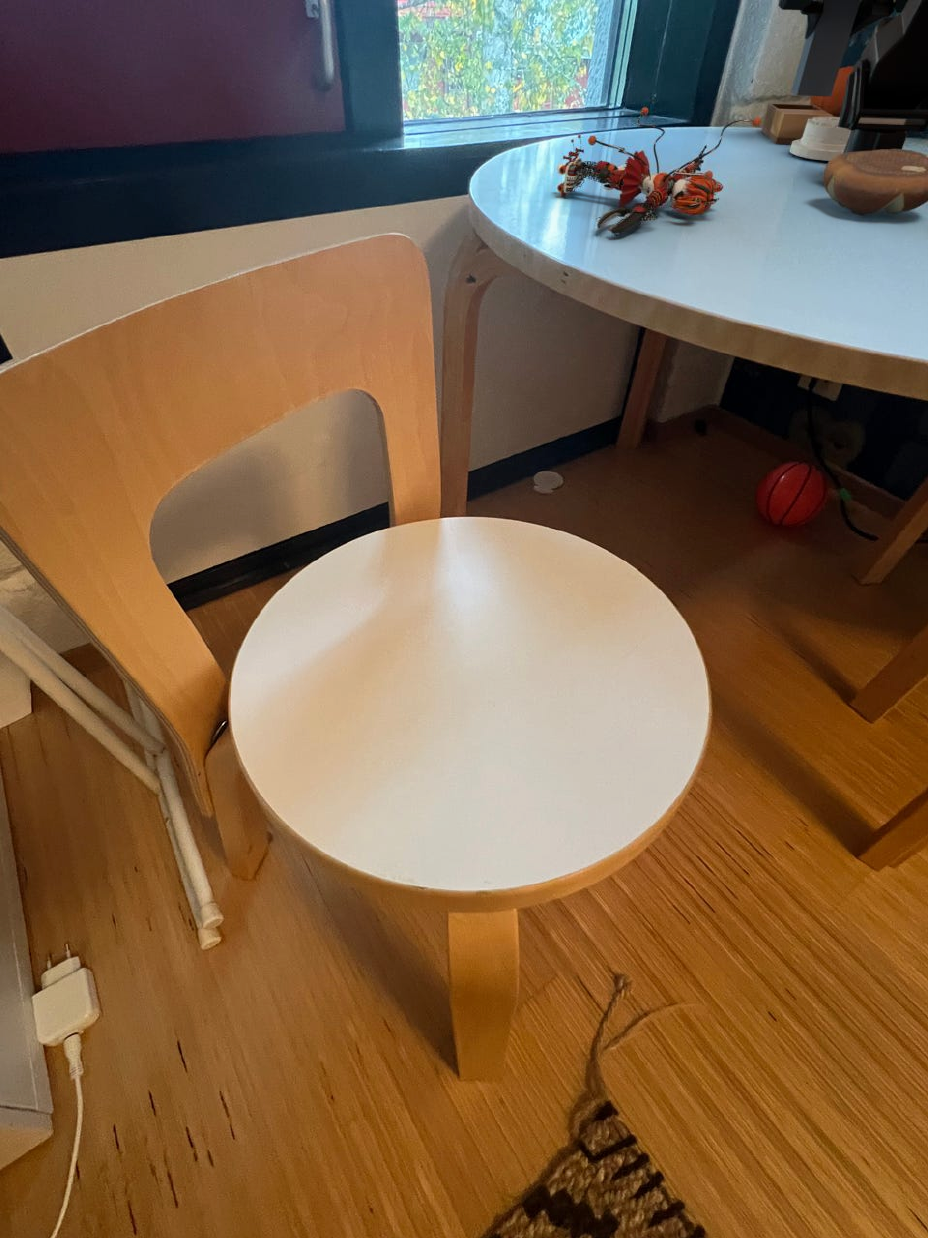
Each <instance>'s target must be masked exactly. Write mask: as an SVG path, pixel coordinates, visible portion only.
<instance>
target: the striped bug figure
mask: <svg viewBox="0 0 928 1238" xmlns="http://www.w3.org/2000/svg"><path fill="white" fill-rule="evenodd" d="M648 114H649V108H648V107H647V106H644V107H642V108H641V110H640V115H639V117H638V119H637V122H636V123H637V126H639V127H641V128H650V129H655V130H659V131H661V132H662V134H660V135H659V136H658V138H656V139H655V141H654V143H653V154H654V158H655V163H656V173H653V174H652V173H651V170H650V162H649V158H648V156H646V154H645V151H644V149H642V150H640V151H639V152H638V151H637V150H636V151H635V152H634V153H631V152H629V151H626V150H625V149H626V148H625V147H621V146H618V145H612V144H609V143H606V142H603V141H600V140H598V139H597V137H596V136H595V135H590V136H589V137H588V139H587V142H588V145H590V146H595V145H596V143H597V144H599V145H600V146H604V147H607V148H611V149H614V150H615V149H616V150H618V151H617V152H618V153H620V154H625V155H627V156H628V157H627V159H626V160H625V162H624V165H623V164H622V165H619V166H618V167H617V165H615V164H613V163H611V162H609V161H606V160H599V161H591V160H585V161H582V157H580V156H579V155H580V153H583V154H584V153H585V149H582V147H580V148H578V147H575V144H574V142H575V140H574V139H573V138H572V139H571V140H570V143H572V145H573V147H575V148H574V151H572V150H570V151H568V155H567V156H566V155H563V156H562V160H568V161H567V162H566V163H560V164H558V166H557V167H556V171H557V174H558V175H560V176H564V179H563V180H564V181H563V182H561V183H559V184H558V185H557V187H556V190H557V191H558V192H559V193H560V197H562V198H565V197H566V196H567V194H568V193H574V192H575V191H576V189H577V188H581V187H582V186H583V184H584V183H585V179H587V180H591V181H594V182H598V183H599V184H603V186H602V188H603V189H604V190H606V191H611V190H616V191H619V192H621V193H620V194H619V200H618V204H619V206H618V207H617V208H616V209H615V208H613V209H612V208H610V209H609V210H608V211H607V212H604V213H603V214H602V215H601V216H600V217H597V218H596V219H595V221H596V222H597V224H596V226H597V229H600V228H601V229H602V228H603V227H606V226H607V225H608V223H610V222H612V221H613V220H614V219H617V218H618V217H619V218H621V219H619V220H618V221H617V220H616V222H614V223H613V224H612V225H610V226H608V228H607V230H608V231H609V232H611V234H613V235H615V236H616V237H619V236H621V234H623V233H624V232H626V231H629V230H631V229H632V228H633V227H638V226H640V225H642V222H648V221H650V222H652V221H655V220H657V219H658V217H659V216H658V213H657V212H655V211H657V209H656V208H659V207H660V208H661V207H663V206H664V205H665V204H666V203H667V201H668V200H669V204H670V205H669V206H670V207H671V210H672V211H675V212H678V213H679V215H681V214H682V215H683V214H684V215H689V216H696V215H697V216H698V215H701V214H703V213H705V212H706V211H708V210H710V208H711V207H712V205H715V204H716V203H717V201H719V200H720V198H719V197H718V198H717V197H715V196H716V195H717V193H720V192H722V191H723V189H724V185H723V184H722V183H721V182H719V181H718V180H716V179H715V178H713V177H714V173H713V172H712V171H711V170H707V171H705V172H704V173H703V172H701V171H702V169H701V168H702V164H704V162H705V161H704V160H703V158H704V157H706V156H708V155H710V154H712V153H713V152H715V151H716V150H717V149H718V148H719V147H720V145H721V143H722V140H723V135H724V133H725V132H724V131H725V130H726V129H727V128H728V127H730V126H732V125H734V124H738V123H752V126H753V127H754V128H758V127H759V126H761V124H762V119H761V118H760V117H755V118H754V119H738V120H735V121H731V122H729V123H727V124H726V125H725V126H724V127H723V128H722V131H721V134H720V138H719V141H718V144H717V145H716V146H715V147H713V148H712V149H710V150H708V151H707V152H705V150H706V149H707V148H708V146H707V144H705V145H704V146H703V149H702V150H700V152H699V154H698V156H697V157H696V158H693V159H691V160H690V161H688V162H686V163H685V164H683V165H681V166H680V167H678V168H675V169H673V170H672V171H670V172H669V173H667V172H660V164H659V158H658V155H657V150H656V145H657V142H658V141H659V140H660V139H661V138H662V137H663V136H664V135H665V133H666V131H665V129H664V128H662V127H660V126H659V127H658V126H654V125H648V124H643V123H642V124H641V123H640V120H641V119H642V116H643V117H646V116H647V115H648ZM577 138H578V139H579V140H580V141H579V142H580V143H582V141H581V138H582V135H581V134H578V135H577ZM632 157H633V158H632ZM697 171H698V172H697ZM641 193H642V194H643V195H645V199H646V200H645V201H644V200H643V202H638V203H635V204H634V206H632V207H631V208H629V207H626V205H629V204H630V203H631V202H632V201H634V199H635V198H636V197H638V196H639V195H640V194H641ZM654 216H655V217H654ZM647 217H648V218H647ZM597 219H598V220H597Z"/></svg>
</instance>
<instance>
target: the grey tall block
mask: <svg viewBox="0 0 928 1238" xmlns="http://www.w3.org/2000/svg"><path fill="white" fill-rule="evenodd" d="M860 2H861V0H824V8H823V14H822V16H821V18H820V20H819V21H818V23H817V25H816V27H815V29H814V31H813V32H812V34H811V35H810V36H809V38H808V39H804V44H803V47H802V51H801V55H800V59H799V60H798V61H799V62H798V66H797V70H796V73H795V75H794V76H795V77H794V80H793V83H792V87H791V91H790V92H791V93H792V94H794V95H795V96H800V97H801V96H804V97H805V96H807V97H808V96H809V97H811V96H831V95H832V92H833V88H834V85H835V82H836V79H837V76H838V72H839V69H840V68H841V66H842V62H843V60H844V55H845V52H846V49H847V47H848V43H849V40H850V38H851V37H850V34H851V30H852V27H853V24H854V21H855V18H856V14H857V11H858V8H859V5H860Z"/></svg>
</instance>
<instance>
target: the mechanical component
mask: <svg viewBox="0 0 928 1238" xmlns="http://www.w3.org/2000/svg"><path fill="white" fill-rule="evenodd" d="M839 120H840V117H812V119H808V121H807V125H806V128H805V131H804V134H803V137H802V138H801V139H799V140H795V141H792V144H790V148H789V153H790V154H792V155H795V156H796V157H800V158H805V159H809V160H818V161H827V162H829V161H830V160H831V159H832V158H834V157H835V156H837V155H839V154H843V152H844V149H845V146H846V143H847V140H848V138H849V136H850V133H851V130H848V129H846V128H840V127H838V123H839Z"/></svg>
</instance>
